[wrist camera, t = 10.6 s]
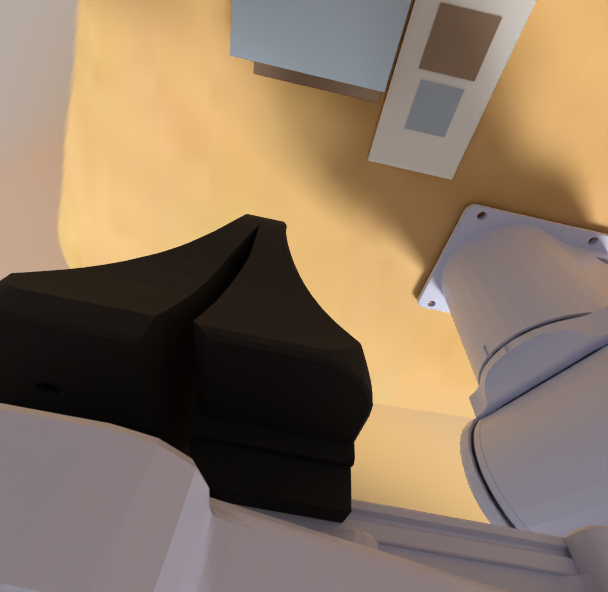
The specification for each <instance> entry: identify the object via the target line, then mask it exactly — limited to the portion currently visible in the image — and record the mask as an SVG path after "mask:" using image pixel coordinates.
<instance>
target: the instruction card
mask: <svg viewBox="0 0 608 592" xmlns="http://www.w3.org/2000/svg"><path fill="white" fill-rule="evenodd" d="M535 3H536V0H415V1H414V5H413V8H412V11H411V15H410V18H409V21H408V25H407V28H406V31H405V35H404V38H403V42H402V45H401V48H400V52H399V55H398V58H397V62H396V65H395V69H394V72H393V75H392V79H391V82H390V85H389V89H388V92H387V96H386V99H385V102H384V106H383V109H382V112H381V116H380V119H379V122H378V126H377V129H376V133H375V136H374V139H373V143H372V146H371V149H370V153H369V156H368V161H372V162H376V163H380V164H385V165H389V166H393V167H398V168H402V169H406V170H411V171H415V172H420V173H424V174H428V175H433V176H437V177H441V178H446V179H450V180H452V178H453V176H454V174H455V172H456V170H457V168H458V166H459V163H460V161H461V159H462V157H463V155H464V153H465V151H466V149H467V146H468V144H469V142H470V140H471V138H472V136H473V134H474V132H475V130H476V127H477V125H478V123H479V121H480V119H481V117H482V115H483V113H484V110H485V108H486V106H487V104H488V102H489V100H490V98H491V96H492V94H493V91H494V89H495V87H496V85H497V83H498V81H499V79H500V77H501V74H502V72H503V70H504V68H505V66H506V64H507V62H508V60H509V58H510V55H511V53H512V51H513V49H514V47H515V45H516V43H517V41H518V38H519V36H520V34H521V32H522V30H523V28H524V26H525V24H526V22H527V19H528V17H529V15H530V13H531V11H532V9H533V7H534V5H535Z"/></svg>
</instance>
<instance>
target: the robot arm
mask: <svg viewBox="0 0 608 592" xmlns="http://www.w3.org/2000/svg"><path fill="white" fill-rule="evenodd" d="M481 212H485V213H484V215H483V216H482V217H477V215H478V214H479V213H481ZM286 228H287V226H286V224H285V223H284V222H282V221H277V220H273V219H268V218H263V217H259V216H254V215H249V214H246V215H244V216H242V217H240V218H238V219H236V220H234V221H233V222H231V223H229V224H227V225H225V226H223V227H222V228H220V229H218V230H216V231H214V232H212V233H210V234H207V235H205V236H203V237H201V238H199V239H196V240H194V241H192V242H190V243H187V244H185V245H182V246H179V247H176V248H173V249H170V250H167V251H164V252H161V253H157V254H153V255H149V256H145V257H140V258H136V259H132V260H127V261H123V262H117V263H111V264H105V265H99V266H91V267H84V268H75V269H67V270H52V271H39V272H26V273H11V274H9V275H8V276H7V277H5V278H4V279H2V280H1V281H0V592H608V234H605V233H601V232H597V231H592V230H588V229H583V228H579V227H575V226H570V225H566V224H561V223H557V222H553V221H548V220H544V219H539V218H535V217H531V216H526V215H522V214H518V213H513V212H509V211H504V210H500V209H496V208H491V207H487V206H482V205H478V204H471V205H469V206H467V207H466V208H465V210H464V211H463V213H462V215H461V217H460V219H459V221H458V223H457V225H456V227H455V228H454V230H453V232H452V234H451V236H450V238H449V240H448V242H447V244H446V245H445V247H444V249H443V251H442V253H441V255H440V257H439V259H438V261H437V263H436V264H435V266H434V268H433V270H432V272H431V274H430V276H429V278H428V280H427V281H426V283H425V285H424V287H423V289H422V291H421V293H420V295H419V297H418V299H417V301H418V305H419V306H421V307H424V308H429V309H433V310H438V311H443V312H447V313H451V316H452V318H453V321H454V323H455V326H456V328H457V331H458V333H459V336H460V339H461V341H462V344H463V346H464V349H465V351H466V354H467V356H468V359H469V362H470V364H471V367H472V369H473V372H474V374H475V377H476V379H477V382H478V385H479V387H478V389H477V390H476V391H475V393H473V394H472V395H471V396H470V397H469V399H470V402H471V404H472V407H473V410H474V413H475V416H476V419H474V420H472V421H470V422H469V423H468V424H467V425H466V426H465V427H464V429H463V431H462V433H461V439H460V453H461V458H462V464H463V467H464V471H465V475H466V478H467V481H468V484H469V486H470V488H471V491H472V493H473V495H474V497H475V499H476V501H477V503H478V505H479V506H480V508H481V510H482V511H483V513H484V515H485V516H486V518H487V519H488V520H489V522H490V523H491V524H487V523H481V522H476V521H470V520H465V519H459V518H454V517H448V516H442V515H437V514H432V513H426V512H420V511H415V510H409V509H404V508H398V507H393V506H387V505H381V504H376V503H371V502H365V501H360V500H354V499H351V467H352V466H353V465H354V460H355V454H354V441H355V440H356V438H357V436H358V435H359V433H360V431H361V429H362V428H363V426H364V424H365V422H366V421H367V419H368V417H369V415H370V412H371V409H372V406H373V402H372V386H371V380H370V376H369V371H368V367H367V363H366V360H365V356H364V353H363V349H362V346H361V344H360V343H359V342H358V341H357V340H356V339H355V338H353V337H352V336H351V335H350V334H349V333H347V332H346V331H345V330H344V329H343V328H341V327H340V326H339V325H338V324H337V323H336V322H335V321H334V320H333V319H332V318H331V317H330V316H329V315H328V314H327V313H326V312H325V311H324V310H323V309H322V308H321V307H320V305H319V304H318V303H317V302H316V300H315V299H314V298H313V297H312V295H311V294H310V292H309V291H308V289H307V288H306V286H305V284H304V283H303V281H302V279H301V277H300V275H299V273H298V271H297V269H296V266H295V264H294V262H293V259H292V256H291V253H290V250H289V246H288V242H287V237H286ZM591 238H594V239H593V240H592V241H590V242H588V241H589V240H590V239H591ZM430 301H434V302H433V303H429V302H430Z"/></svg>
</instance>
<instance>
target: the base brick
mask: <svg viewBox="0 0 608 592" xmlns="http://www.w3.org/2000/svg"><path fill="white" fill-rule="evenodd" d="M254 74H257V75H261V76H265V77H270V78H274V79H278V80H282V81H287V82H291V83H295V84H299V85H304V86H308V87H312V88H317V89H321V90H325V91H329V92H334V93H338V94H342V95H346V96H351V97H355V98H359V99H363V100H368V101H372V102H376V103H379V100H380V97H381V93H382V92H381V91H377V90H373V89H368V88H364V87H360V86H356V85H352V84H347V83H343V82H339V81H335V80H331V79H327V78H322V77H318V76H314V75H310V74H306V73H301V72H297V71H293V70H289V69H285V68H281V67H276V66H272V65H268V64H264V63H260V62H255V61H254Z"/></svg>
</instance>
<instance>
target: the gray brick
mask: <svg viewBox="0 0 608 592" xmlns="http://www.w3.org/2000/svg"><path fill="white" fill-rule="evenodd" d="M410 4H411V0H232V15H231V44H230V56H235V57H239V58H243V59H247V60H251V61H255V62H260V63H264V64H268V65H272V66H276V67H281V68H285V69H289V70H293V71H297V72H301V73H306V74H310V75H314V76H318V77H322V78H327V79H331V80H335V81H339V82H343V83H347V84H352V85H356V86H360V87H364V88H368V89H373V90H377V91H381V92H385V89H386V86H387V82H388V79H389V75H390V72H391V69H392V65H393V62H394V58H395V55H396V51H397V48H398V45H399V41H400V38H401V34H402V31H403V28H404V24H405V21H406V17H407V14H408V11H409V7H410Z"/></svg>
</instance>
